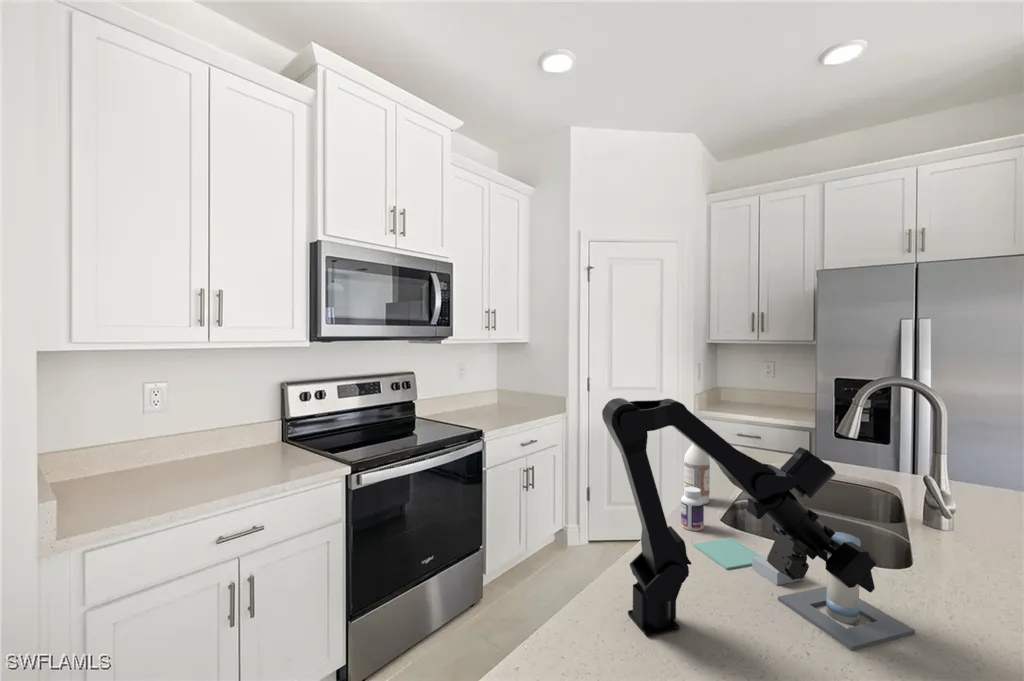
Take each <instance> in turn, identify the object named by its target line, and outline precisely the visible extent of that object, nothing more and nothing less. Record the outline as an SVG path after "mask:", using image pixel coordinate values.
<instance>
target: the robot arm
mask: <svg viewBox="0 0 1024 681" xmlns="http://www.w3.org/2000/svg"><path fill="white" fill-rule="evenodd" d="M601 415H602V420H603V423H604V424H605V427H606V428H607V430H608V433H609V434H610V436H611V438H612V440H613V442H614V443H615V446H616V447H617V449H618V451H619V452H620V454H621V459H622V463H623V464H624V469H625V472H626V475H627V479H628V482H629V486H630V489H631V494H632V496H633V500H634V504H635V506H636V511H637V514H638V517H639V521H640V524H641V537H640V542H641V552H640V553H639V554H638V555H637V556H636V557H635V558H634V559H633V560H632V561H631V562H629V567H630V570H631V572H632V575H633V576H634V577H635V579H636V581H637V582H636V583H634V584H632V609H630V610H627V615H628V617H630V619H631V620H632V621H633V622H634V623H635V624H636V626H638V628H639V629H640V630H641V632H643V634H644V635H645V636H647V637H652V636H656V635H657V636H658V635H661V634H666V633H671V632H675V631H679V630H680V628H681V627H680V624H678V622H677V621H676V619H677V599H678V596H679V593H680V590H681V588H682V585H683V584H684V582H685V581H686V579H687V578H688V577H689V576H690V574H689V573H690V570H689V565H692V561H691V560H690V559H689V557H688V554H687V546H686V542H685V540H684V539H683V538H682V537H681V536H680V534H678V533H677V531H676V530H675V529H674V527H672V526H671V525H668V523H667V519H666V517H665V512H664V510H663V505H662V502H661V499H660V495H659V491H658V488H657V485H656V482H655V477H654V474H653V470H652V468H651V463H650V460H649V456H648V452H647V448H648V447H647V445H648V436H649V435H648V432H652V431H657V430H660V429H664V428H667V427H670V426H671V427H673V428H674V429H675V430H676V431H677V432H678V433H680V434H681V435H683V436H684V438H686V439H688V440H689V442H691V444H692V443H694V444H695V445H696V446H697V447H699V448H700V449H701V450H702V451H703V452H705V453H706V454H707V455H708V457H709V458H711V459H712V460H713V461H714V462H715V463H716V464H717V466H718V468H719V470H720V471H721V472H722V473H723V474H724V476H725V477H726V478H727V479H728V480H729V481H730V482H731V483H732V485H733V486H736V487H737V488H738V489H740V490H741V491H743V492H745V493H746V494H748V495H749V496H750V497H749V498H747V505H746V512H747V513H749V514H750V515H752V516H753V517H754V518H756V519H758V520H761V519H762V518H763V517H764V516H765V515H766V516H767V517H768V518H769V519H770V520H771V521H772V522H773V523H772V532H773V533H774V534H775V535H776V536H777V538H776V539H775V540H774V542H773V544H772V545H771V548H770V551H769V553H768V554H767V555H768V557H767V560H768V563H769V564H771V565H772V566H773V567H774V568H775V569H776V570H778V571H779V572H781V573H783V574H785V575H787V576H788V577H790V578H791V579H792V580H795V579H802V580H803V579H804V578H805V576H806V574H807V573H808V570H809V568H810V566H809V563H808V562H807V560H808V557H809V558H810V559H811V560H813V561H814V560H815V558H816V557H818V558H820V559H821V560H823V561H824V562H825V570H826V572H827V571H828V572H829V573H830V574H831V575H833V576H834V577H835V578H836V579H837V580H839V581H840V582H841V583H843V584H844V585H846V586H847V587H848V588H853V587H855V586H856V585H857V584H858V585H859V587H861V588H862V589H864V590H865V591H867V592H868V593H873V591H875V589H876V587H875V583H874V578H873V575H872V569H874V568H875V566H877V564H878V563H877V559H876V557H874V555H873V554H871V553H870V552H869V551H868V550H866V549H864V548H862V547H861V546H860V547H859V546H858V545H856V544H854V543H853V542H844V543H843V544H842V545H840V544H838V543H837V542H835V541H833V540H832V539H830V538H831V537H832V536H833V535H834V534H835V532H836V531H834V530H833V529H832V528H830V527H828V526H827V525H825V524H823V522H821V521H820V520H819V517H820V516H819V515H818V514H817V513H816V512H814V510H813V511H812V510H811V509H809V508H808V507H806V506H805V505H804V504H803V503H802V501H800V500H799V499H798V498H797V497H796V496H795V495H794V494H796V495H797V496H798V497H801V498H804V497H805V496H807V497H808V499H809V498H810V499H812V498H814V497H815V496H816V495H817V494H818V493H819V492H820V491H821V490H822V488H824V487H825V485H826V484H827V483H829V481H830V480H831V479H833V477H835V475H836V474H837V473H836V471H835V469H833V467H832V466H831V465H830V464H828V463H826V462H824V461H823V460H821V459H820V458H819V457H817V456H815V455H814V454H812V452H810V450H808V449H807V448H804V447H802V446H799V447H798V448H797V449H796V450H795V451H794V452H793V454H792V456H791V457H790V458H788V460H787V461H786V462H785V463H784V464H783V465H782V466H781V467H780V468H778V467H776V466H774V465H772V464H770V463H762V462H760V461H759V460H756V459H755V458H752V457H751V456H749V455H747V454H745V453H743V452H742V451H740V450H738V449H736V448H735V447H734V446H733V445H732V444H730V443H729V442H728V441H726V439H724V438H723V437H722V436H721V435H719V434H718V433H717V432H716V431H715V430H713V429H712V428H711V427H709V426H708V425H707V424H706V423H704V421H702V420H701V419H699V418H698V416H696V415H695V414H693V412H691V411H690V410H689V409H688V408H687V407H686V405H685V404H684V403H682V402H680V401H677V400H675V399H673V398H664V399H657V400H631V401H630V400H627V399H625V398H621V397H619V398H617V397H615V398H612V399H610V400H609V401H608V402H607V403H606V404H604V407H603V409H602V412H601ZM791 491H792V492H793V493H794V494H793V493H792V492H791ZM751 497H752V498H751ZM831 546H832V547H831ZM834 548H835V549H834ZM828 554H830V555H831V556H830V557H829V558H828V559H827V556H828Z"/></svg>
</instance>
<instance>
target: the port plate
mask: <svg viewBox="0 0 1024 681" xmlns="http://www.w3.org/2000/svg"><path fill="white" fill-rule="evenodd" d="M826 596H827V585H825V586H822V587H816V588H812V589H811V588H810V589H808V590H807V589H806V590H803V591H798V592H793V593H789V594H785V595H779V596H777V600H778V601H779V602H780V603H781V604H783V605H785V606H786V607H788V608H789V609H791V610H792V611H793V612H794V613H797V614H798V615H799V616H800V617H802V618H804V619H805V620H807V621H808V622H809V623H811V624H812V625H814V626H815V627H816V628H818V629H820V630H821V631H822V632H824V633H826V634H827V635H828V636H830V637H831V638H832V639H834V640H835V641H837V642H838V643H840V644H841V645H843V646H844V647H846V648H847V649H848V650H850V651H855V650H859V649H861V648H866V647H871V646H874V645H878V644H881V643H885V642H888V641H892V640H895V639H899V638H900V639H901V638H903V637H906V636H910V635H914V634H916V629H914V628H912V627H910V626H909V625H908V624H905V623H904V622H902V621H900V620H899V619H896V618H894V617H893V616H891V615H890V614H889V613H886V612H885V611H883V610H880V609H879V608H877V607H875V606H873V605H871V604H870V603H868V602H866V601H865V600H863V599H862V598H860V597H859V615H861V616H863V617H865V619H868V620H870V622H868V623H867V622H866V623H864V624H859V625H855V626H851V627H848V628H847V627H845V626H843V625H842V624H840V622H838V621H837V620H835V619H833V618H831V617H830V616H829V615H828V614H827V615H826V613H823V612H822V611H820V610H819V609H817V608H816V607H817V606H821V605H826Z"/></svg>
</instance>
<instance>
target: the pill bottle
mask: <svg viewBox="0 0 1024 681" xmlns="http://www.w3.org/2000/svg"><path fill="white" fill-rule="evenodd" d="M700 496H701V490H700V489H699V488H696V487H685V488H684V487H683V495H682V496H681V498H680V525H681V527H682V528H683V529H686V530H687V531H693V532H698V531H699V532H700V531H702V530H703V529H704V528H705V524H704V522H705V520H704V519H705V516H704V514H705V513H704V512H705V510H704V509H705V508H704V507H705V504H704V501H703V499H702V498H701V497H700Z"/></svg>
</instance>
